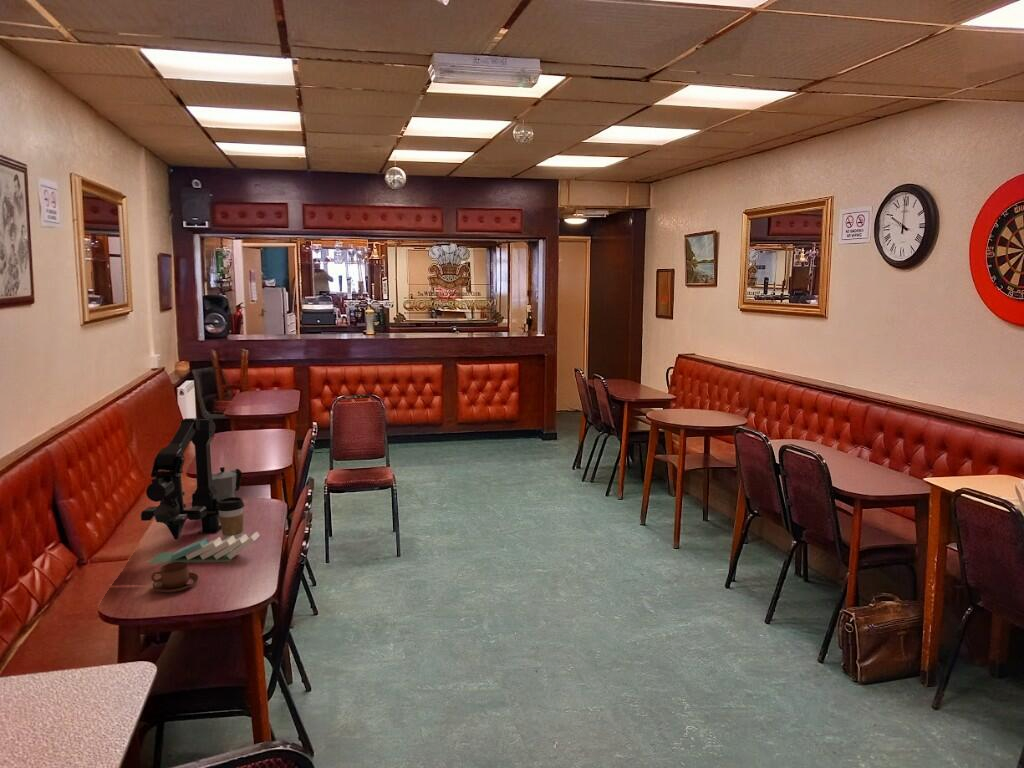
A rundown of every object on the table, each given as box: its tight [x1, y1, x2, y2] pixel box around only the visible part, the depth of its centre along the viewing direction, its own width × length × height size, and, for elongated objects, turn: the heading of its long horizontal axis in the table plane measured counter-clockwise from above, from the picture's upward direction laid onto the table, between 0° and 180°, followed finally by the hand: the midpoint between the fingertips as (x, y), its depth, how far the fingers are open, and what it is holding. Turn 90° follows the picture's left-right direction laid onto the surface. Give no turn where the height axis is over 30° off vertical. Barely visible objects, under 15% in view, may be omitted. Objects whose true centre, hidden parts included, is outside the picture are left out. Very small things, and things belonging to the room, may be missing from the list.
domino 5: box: [227, 531, 261, 560], centre depth 230 cm, size 5×2×10 cm
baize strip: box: [148, 551, 236, 564], centre depth 231 cm, size 8×26×1 cm, turn 89°
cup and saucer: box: [150, 562, 199, 593], centre depth 210 cm, size 12×12×6 cm
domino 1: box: [172, 537, 210, 560], centre depth 230 cm, size 5×2×10 cm
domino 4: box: [214, 533, 249, 560], centre depth 230 cm, size 5×2×10 cm
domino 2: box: [186, 536, 223, 560], centre depth 230 cm, size 5×2×10 cm
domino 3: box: [200, 536, 236, 560], centre depth 230 cm, size 5×2×10 cm
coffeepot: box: [212, 467, 243, 517], centre depth 272 cm, size 15×9×18 cm, turn 154°
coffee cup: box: [217, 496, 245, 541], centre depth 242 cm, size 8×8×15 cm
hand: (176, 539), depth 230 cm, fingers closed
